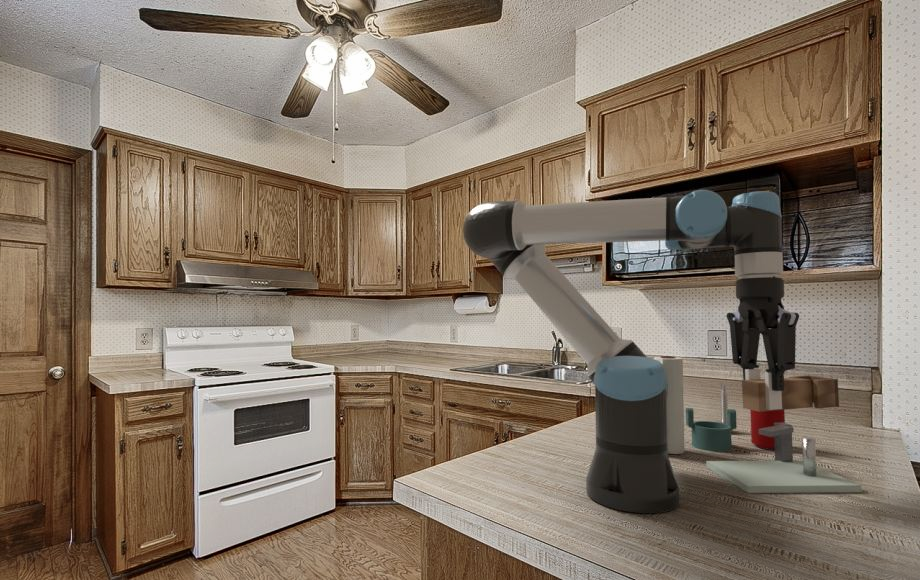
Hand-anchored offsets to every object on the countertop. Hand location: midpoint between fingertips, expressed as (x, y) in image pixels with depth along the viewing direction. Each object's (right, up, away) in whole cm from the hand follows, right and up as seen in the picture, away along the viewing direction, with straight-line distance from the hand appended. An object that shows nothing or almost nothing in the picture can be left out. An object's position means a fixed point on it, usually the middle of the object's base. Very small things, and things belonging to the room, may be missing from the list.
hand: (763, 406), depth 87 cm
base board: (+6, -15, +4) cm, 16 cm away
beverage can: (+17, -16, +26) cm, 35 cm away
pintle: (+11, -14, +3) cm, 17 cm away
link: (+5, 0, +1) cm, 6 cm away
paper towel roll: (-8, -16, +22) cm, 28 cm away
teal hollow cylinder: (+4, -16, +26) cm, 31 cm away
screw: (+15, -16, +40) cm, 45 cm away
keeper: (+8, -15, +9) cm, 19 cm away
